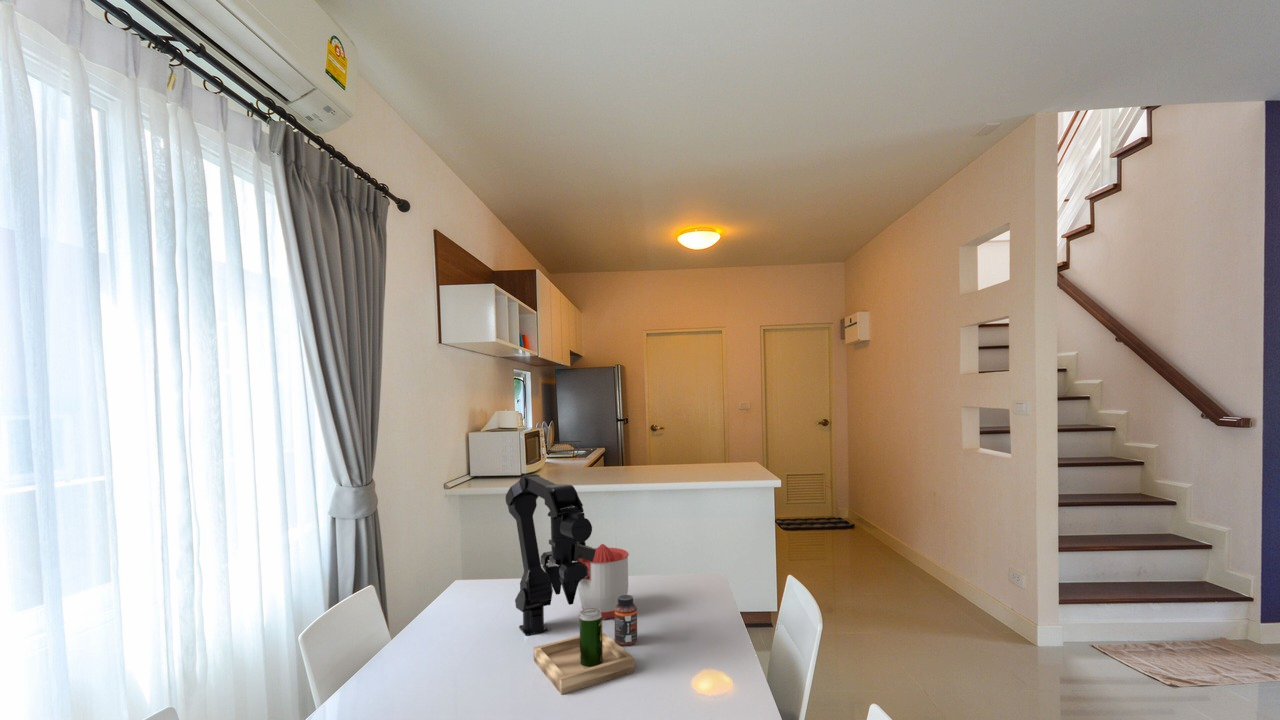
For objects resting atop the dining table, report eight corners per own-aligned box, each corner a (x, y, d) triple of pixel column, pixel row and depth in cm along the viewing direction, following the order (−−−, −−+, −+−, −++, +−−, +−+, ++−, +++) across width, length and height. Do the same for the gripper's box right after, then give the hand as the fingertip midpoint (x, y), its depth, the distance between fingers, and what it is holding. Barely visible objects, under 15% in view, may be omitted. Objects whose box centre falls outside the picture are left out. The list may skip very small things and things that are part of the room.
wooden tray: (533, 661, 132) (533, 647, 132) (600, 642, 141) (600, 630, 141) (561, 694, 116) (561, 679, 116) (634, 671, 125) (634, 657, 125)
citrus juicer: (562, 614, 161) (561, 545, 162) (608, 598, 172) (606, 534, 174) (594, 629, 149) (592, 555, 151) (640, 612, 161) (639, 543, 162)
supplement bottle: (635, 647, 137) (633, 601, 138) (612, 646, 139) (611, 600, 140) (639, 637, 143) (638, 593, 144) (618, 636, 144) (617, 592, 145)
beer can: (581, 671, 123) (580, 617, 124) (578, 661, 128) (577, 609, 129) (604, 668, 125) (603, 614, 125) (600, 657, 130) (599, 606, 131)
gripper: (606, 537, 134) (608, 603, 132) (578, 525, 150) (579, 583, 149) (563, 544, 129) (565, 612, 127) (539, 531, 145) (540, 591, 143)
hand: (564, 599), depth 137 cm, fingers open, 9 cm apart
